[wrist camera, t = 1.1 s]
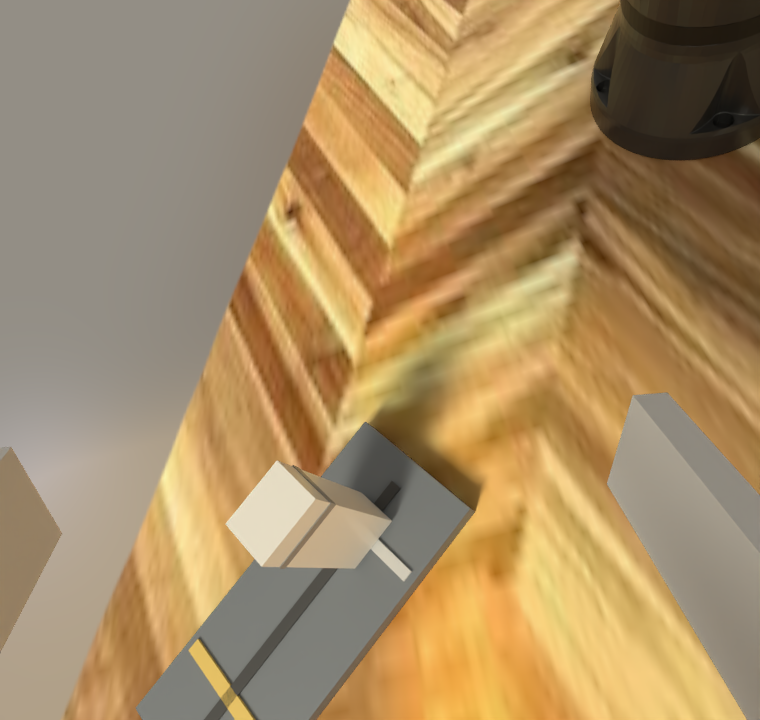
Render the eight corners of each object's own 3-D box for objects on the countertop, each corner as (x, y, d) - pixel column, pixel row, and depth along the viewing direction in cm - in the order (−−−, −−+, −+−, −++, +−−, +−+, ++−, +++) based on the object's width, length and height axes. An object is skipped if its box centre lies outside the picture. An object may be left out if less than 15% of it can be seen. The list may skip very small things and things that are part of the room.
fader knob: (361, 491, 37) (277, 458, 26) (393, 521, 35) (316, 498, 25) (324, 538, 36) (224, 524, 26) (355, 569, 35) (261, 568, 24)
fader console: (374, 428, 41) (364, 420, 39) (475, 511, 36) (469, 508, 34) (155, 701, 39) (133, 708, 37) (232, 829, 34) (211, 845, 32)
